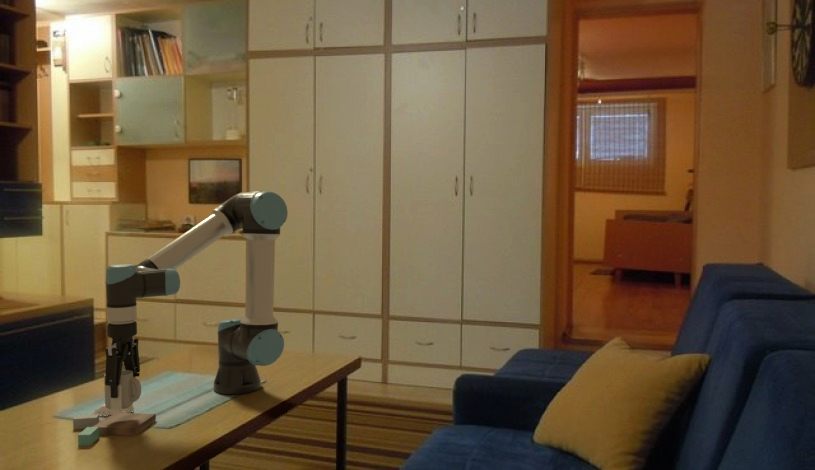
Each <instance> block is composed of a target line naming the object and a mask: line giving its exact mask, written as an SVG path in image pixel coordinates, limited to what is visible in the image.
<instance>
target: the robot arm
mask: <svg viewBox="0 0 815 470" xmlns="http://www.w3.org/2000/svg"><path fill="white" fill-rule="evenodd" d="M210 214H211V215H209V216H208V217H206V218H205V219H203V220H202V221H200V222H199V223H197V224H196V225H195V226H193V227H191V228H190V229H189V230H187V231H185V232H184V233H183V234H182V235H179V236H178V237H176V239H174V240H172V241H171V242H169V243H168V244H167V245H165V246H164V247H162V248H161V249H159V250H158V251H156V252H154V254H152V255H150V256H149V257H147V258H146V259H144V260H142V261H141V262H140V263H138V264H132V263H130V264H129V263H128V264H127V263H126V264H125V263H122V264H120V263H119V264H111V265H108V267H107V268H106V271H105V291H106V293H105V294H106V310H105V312H106V321H107V324H106V335H107V337H108V338H110V339H112V341H111V346H110V347H106V348H105V349H104V352H105V372H104V374H105V385H106V386H110V396H111V409H113V410H121V409H122V390H121V385H119V384H120V377H121V371H122V370H123V365H124V370H130V371H133V377H134V378H137V377H138V378H139V377H140V372H141V366H140V355H139V338H137V337H135V336H137V334H138V323H137V321H136V320H137V319H138V312H137V310H138V309H137V299H142V298H151V297H152V298H153V297H155V298H156V297H167V296H172V295H173V296H174V295H175V294H177V293H178V292H179V290H180V288H181V278H180V275H179V272H178V270H177V269H178V268H180V267H181V266H183V265H184V264H185V263H187V262H188V261H189V260H191V259H192V258H194V257H195V256H197V255H198V254H199V253H201V252H203V251H204V250H206V249H207V248H208V247H209V246H211V245H213V244H214V243H215V242H217V241H218V240H219V239H221V238H222V237H224V236H225V235H227V236H230V235H232V234H234V233H235V232H237V231H239V230H242V231H241V232H242V236H244V238H245V239H246V271H245V272H246V275H245V311H244V312H245V313H244V317H238V318H231V319H225V320H221V321H220V322H219V323H218V324H217V345H218V347H217V349H218V353H217V354H218V368H217V371H216V375H215V378H214V380H213V391H214V392H216V393H218V394H222V395H242V394H248V393H252V392H256V391H257V390H259V389H261V387H262V381H261V377H260V375H259V372H258V368H257V366H261V367H266V366H270V365H272V364H274V363H275V362H276V361H278V359H279V358H280V357H281V355H282V354H283V352H284V349H285V340H284V337H283V335H282V333H281V332H280V331H278V330H279V321H278V319H277V318H276V317H275V316H274V305H275V304H274V302H275V301H274V300H275V299H274V298H275V297H274V296H275V259H276V258H275V256H276V253H275V252H276V240H277V239H278V238H279V236H281V227H283V225H284V224H285V223H286V221H287V218H288V207H287V204H286V202H285V200H284V199H283V198H282V196H280V195H279V194H278V193H276V192H274V191H273V192H272V191H267V190H258V191H257V190H256V191H241V192H239V193H236V194H235V195H233V196H231V197H230V198H228V199H227V200H225V201H224V202H222V203H221V204H220V205H219V206H217V207H215V208H214V209H212V210H211V213H210ZM133 337H134V338H133ZM133 395H135V386H134V384H133Z"/></svg>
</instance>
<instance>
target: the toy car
mask: <svg viewBox="0 0 815 470" xmlns="http://www.w3.org/2000/svg"><path fill="white" fill-rule="evenodd" d="M135 402H136V401H134V403H135ZM132 411H133V412H134V405H133V404H132V406H130V407H127V408H122V409H121V410H113V409H108V408H106V406H105V403H104V404H102V405H101V406H99V407H98V408H97V409H96V410H94V411H93V412H92V413H91V415H94V414H99V417H101V416H100V415H103V416H102V417H104V415H109V416H110V415H112V414H114V413H131V412H132ZM96 412H97V413H96ZM133 412H132V413H133Z"/></svg>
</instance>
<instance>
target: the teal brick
mask: <svg viewBox="0 0 815 470" xmlns="http://www.w3.org/2000/svg"><path fill="white" fill-rule="evenodd" d="M99 438H100V435H99V427H87V428H85V429H83V430H82V431H80V432H79V434H77V445H78V447H86V446H92V445H93V444H94V443H95V442H96V441H97V440H98V439H99Z"/></svg>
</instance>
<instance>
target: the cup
mask: <svg viewBox="0 0 815 470" xmlns="http://www.w3.org/2000/svg"><path fill="white" fill-rule="evenodd" d="M103 380H104V383H103V384H104V404H105V406H106V408H108V409H111V396H110V386H106V385H105V373H104V374H103ZM133 384H134V386H135V395H133ZM119 385H121V390H122V408H127V407H130V406H132V405H133V404H134V403H135V402H137V401H138V400H140V397H141V395H142V385H141V382H140V380H139V379H138V378H137V377H136V378H134V377H133V371H130V370H125V369H122V371H121V377H120V384H119ZM134 401H135V402H134Z"/></svg>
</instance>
